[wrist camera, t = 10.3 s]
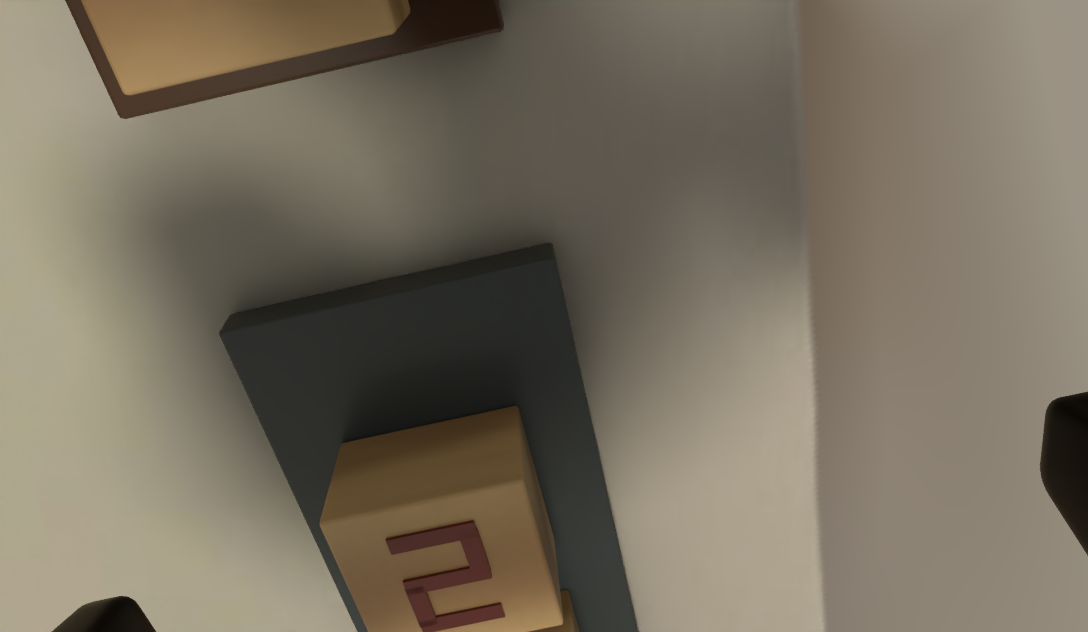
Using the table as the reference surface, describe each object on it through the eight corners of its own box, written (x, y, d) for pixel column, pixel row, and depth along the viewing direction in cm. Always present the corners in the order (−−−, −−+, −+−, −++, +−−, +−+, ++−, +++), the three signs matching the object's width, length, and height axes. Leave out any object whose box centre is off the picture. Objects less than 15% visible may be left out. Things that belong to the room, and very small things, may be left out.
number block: (339, 441, 20) (316, 526, 17) (517, 403, 19) (523, 483, 17) (393, 572, 22) (380, 666, 19) (554, 538, 22) (565, 628, 19)
